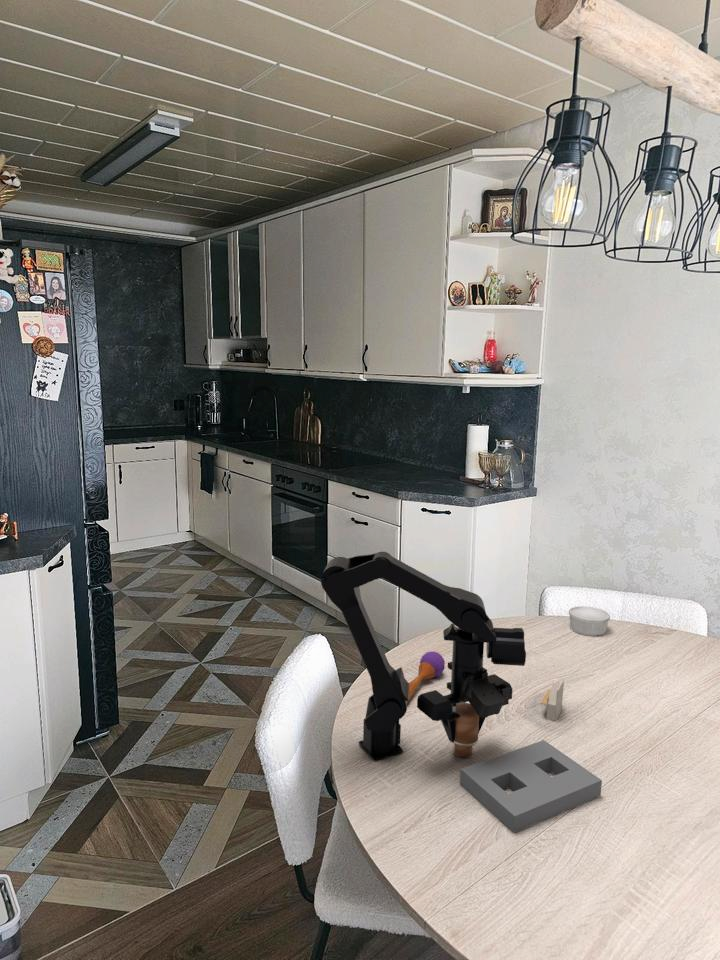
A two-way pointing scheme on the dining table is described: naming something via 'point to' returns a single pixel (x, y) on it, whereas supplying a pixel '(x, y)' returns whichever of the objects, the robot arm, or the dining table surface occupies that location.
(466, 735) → the mahogany dowel
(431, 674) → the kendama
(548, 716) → the architectural model
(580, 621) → the ramekin
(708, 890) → the dining table surface
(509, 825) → the charcoal board
